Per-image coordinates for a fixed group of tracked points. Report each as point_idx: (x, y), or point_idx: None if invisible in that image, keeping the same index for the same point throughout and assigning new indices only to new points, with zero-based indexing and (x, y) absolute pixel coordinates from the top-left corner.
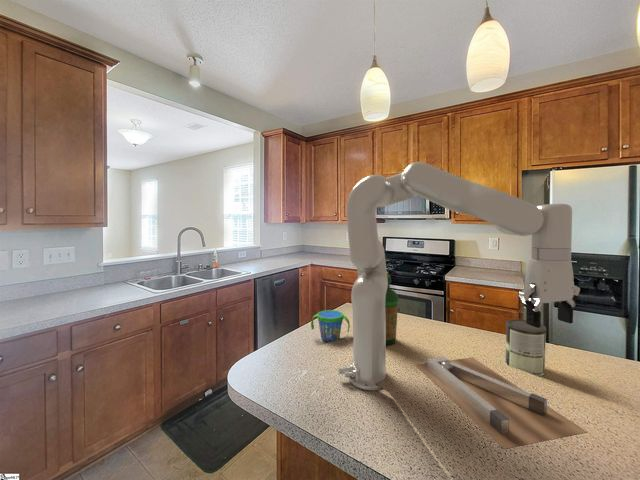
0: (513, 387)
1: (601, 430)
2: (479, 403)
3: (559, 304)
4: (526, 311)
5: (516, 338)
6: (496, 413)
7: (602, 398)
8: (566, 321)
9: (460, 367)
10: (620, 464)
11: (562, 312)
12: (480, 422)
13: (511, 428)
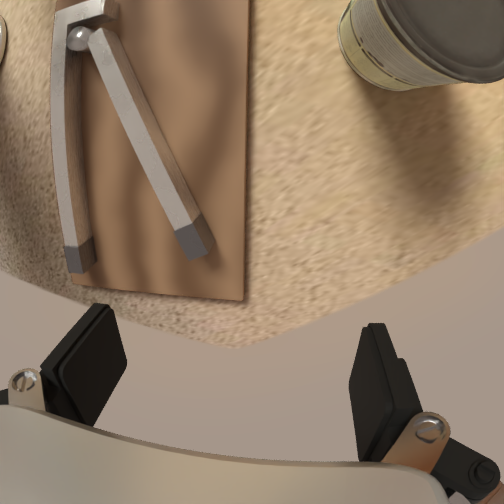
0: (168, 186)
1: (298, 286)
2: (61, 215)
3: (403, 411)
4: (54, 349)
5: (368, 14)
6: (70, 256)
7: (429, 217)
8: (353, 372)
9: (100, 62)
10: (236, 337)
11: (365, 394)
12: None
13: (108, 254)
